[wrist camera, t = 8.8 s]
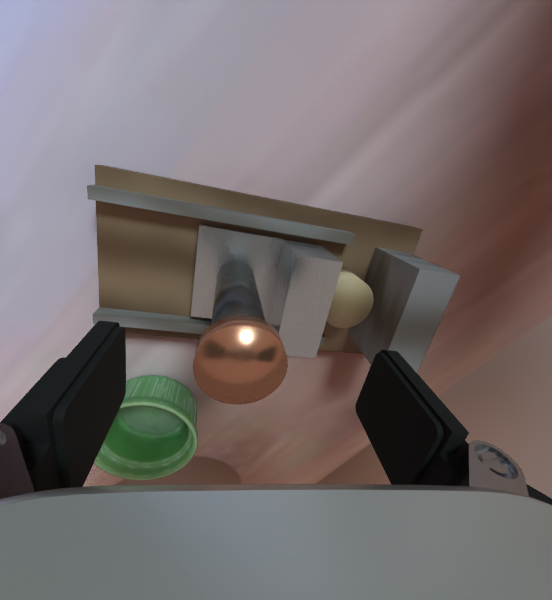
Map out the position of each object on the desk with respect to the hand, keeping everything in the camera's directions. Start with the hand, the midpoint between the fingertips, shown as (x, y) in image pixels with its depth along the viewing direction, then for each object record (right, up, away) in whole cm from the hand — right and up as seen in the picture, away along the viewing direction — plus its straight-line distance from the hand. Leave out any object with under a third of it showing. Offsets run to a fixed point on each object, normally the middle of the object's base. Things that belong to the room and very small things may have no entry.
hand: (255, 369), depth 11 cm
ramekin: (-11, -8, +18) cm, 22 cm away
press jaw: (-1, +4, +12) cm, 13 cm away
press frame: (+1, +5, +14) cm, 15 cm away
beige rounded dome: (+6, +3, +14) cm, 15 cm away
